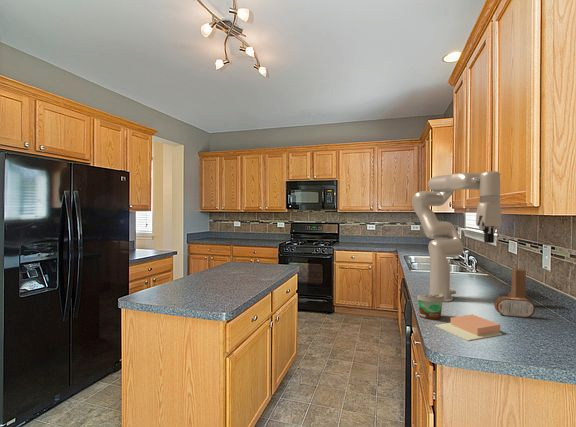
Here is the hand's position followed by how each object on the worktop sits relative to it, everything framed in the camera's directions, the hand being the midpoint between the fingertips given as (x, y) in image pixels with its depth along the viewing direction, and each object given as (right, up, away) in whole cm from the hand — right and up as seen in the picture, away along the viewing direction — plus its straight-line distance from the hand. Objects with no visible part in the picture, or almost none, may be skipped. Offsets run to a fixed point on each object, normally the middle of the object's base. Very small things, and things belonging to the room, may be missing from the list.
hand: (488, 242), depth 134 cm
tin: (+14, -33, +4) cm, 36 cm away
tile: (-7, -31, -9) cm, 34 cm away
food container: (-24, -33, 0) cm, 41 cm away
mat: (-17, -33, -13) cm, 39 cm away
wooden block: (+27, -33, +21) cm, 48 cm away
